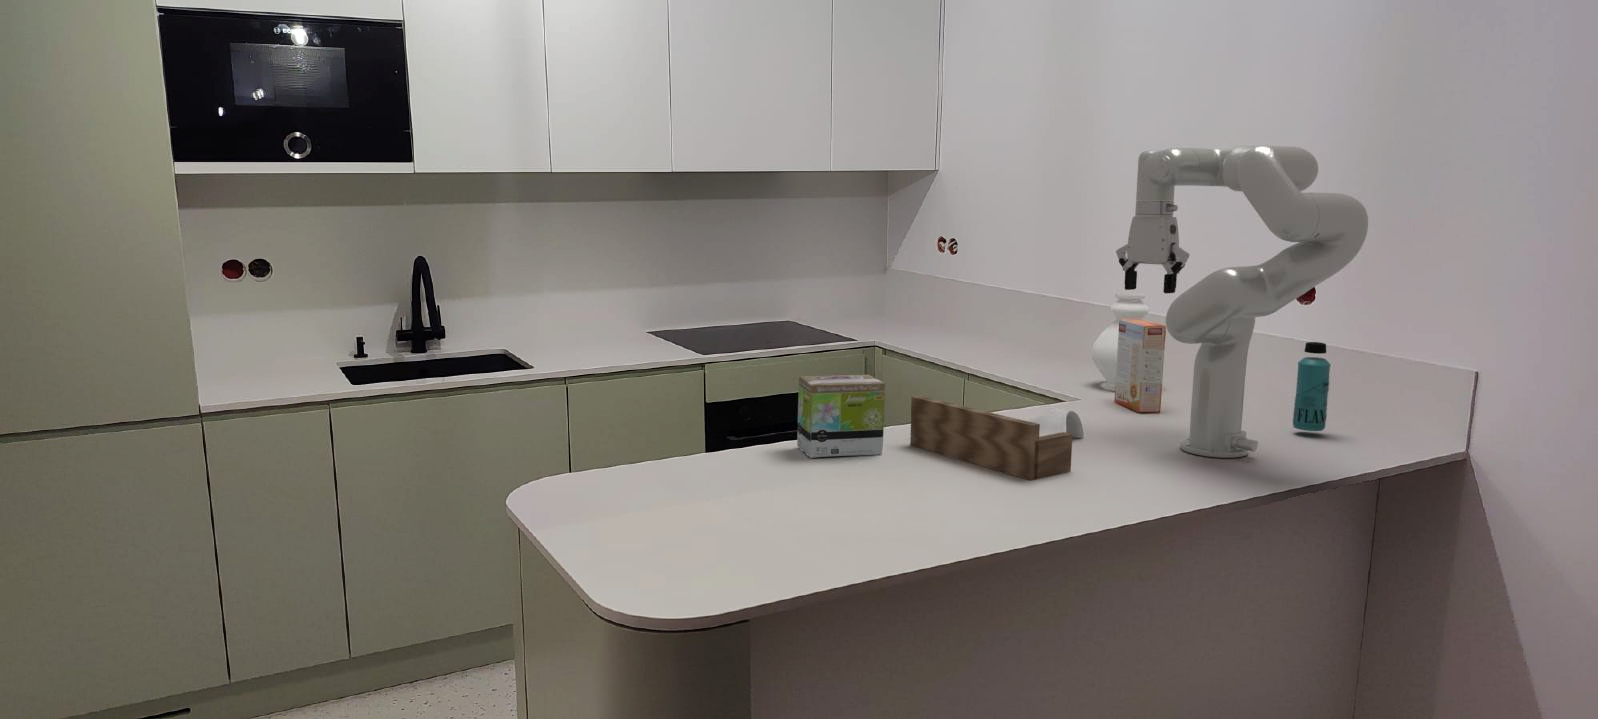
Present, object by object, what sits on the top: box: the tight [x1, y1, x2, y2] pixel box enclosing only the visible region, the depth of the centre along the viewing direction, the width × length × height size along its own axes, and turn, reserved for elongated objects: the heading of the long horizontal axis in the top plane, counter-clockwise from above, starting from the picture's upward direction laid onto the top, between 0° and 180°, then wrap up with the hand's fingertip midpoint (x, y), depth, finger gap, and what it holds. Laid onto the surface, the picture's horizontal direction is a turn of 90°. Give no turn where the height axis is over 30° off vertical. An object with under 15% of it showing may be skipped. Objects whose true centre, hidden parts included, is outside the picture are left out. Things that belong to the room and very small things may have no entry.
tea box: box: [796, 374, 886, 459], centre depth 204 cm, size 15×10×15 cm, turn 105°
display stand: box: [909, 395, 1073, 481], centre depth 200 cm, size 32×11×10 cm, turn 35°
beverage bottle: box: [1292, 341, 1331, 432], centre depth 220 cm, size 6×7×20 cm
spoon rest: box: [1028, 407, 1085, 439], centre depth 209 cm, size 24×12×7 cm, turn 141°
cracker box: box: [1114, 319, 1167, 414], centre depth 248 cm, size 14×6×21 cm, turn 6°
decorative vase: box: [1091, 292, 1149, 392], centre depth 273 cm, size 18×18×25 cm
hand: (1149, 291), depth 220 cm, fingers open, 9 cm apart
